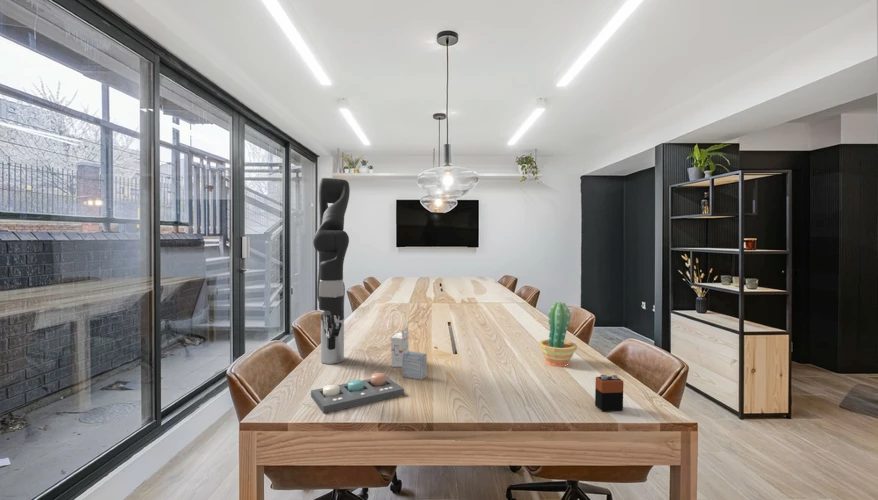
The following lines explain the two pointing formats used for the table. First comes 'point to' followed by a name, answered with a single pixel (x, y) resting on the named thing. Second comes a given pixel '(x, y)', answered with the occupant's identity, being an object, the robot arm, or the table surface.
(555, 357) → the potted cactus
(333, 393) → the cream button
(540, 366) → the table surface
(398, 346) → the ink cartridge box
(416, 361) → the medicine box
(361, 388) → the teal button
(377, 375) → the terracotta button
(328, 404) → the button panel
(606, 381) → the battery
